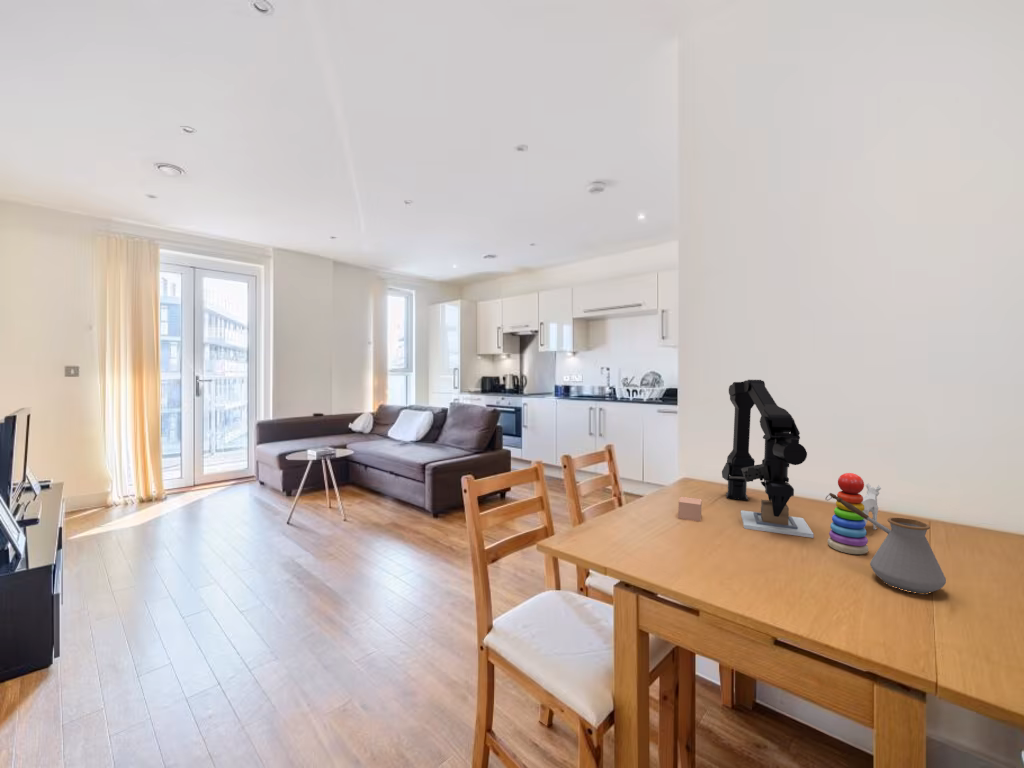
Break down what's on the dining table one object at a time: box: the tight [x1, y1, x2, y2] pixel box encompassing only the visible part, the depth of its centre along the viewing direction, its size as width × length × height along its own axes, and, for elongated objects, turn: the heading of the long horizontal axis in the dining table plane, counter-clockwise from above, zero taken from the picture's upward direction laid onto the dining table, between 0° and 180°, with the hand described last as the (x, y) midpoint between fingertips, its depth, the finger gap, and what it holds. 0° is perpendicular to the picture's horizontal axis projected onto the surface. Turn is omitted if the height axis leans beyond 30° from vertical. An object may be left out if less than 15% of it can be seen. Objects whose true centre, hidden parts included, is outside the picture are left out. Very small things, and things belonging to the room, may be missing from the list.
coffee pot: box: [825, 492, 947, 593], centre depth 93 cm, size 21×12×15 cm, turn 23°
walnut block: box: [760, 499, 790, 525], centre depth 124 cm, size 6×6×5 cm
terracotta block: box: [677, 496, 703, 522], centre depth 130 cm, size 6×6×5 cm
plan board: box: [740, 510, 815, 539], centre depth 124 cm, size 14×16×2 cm
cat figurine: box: [861, 483, 882, 531], centre depth 120 cm, size 4×20×14 cm, turn 124°
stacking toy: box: [827, 472, 869, 555], centre depth 107 cm, size 8×8×19 cm
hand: (774, 512), depth 124 cm, fingers open, 7 cm apart
